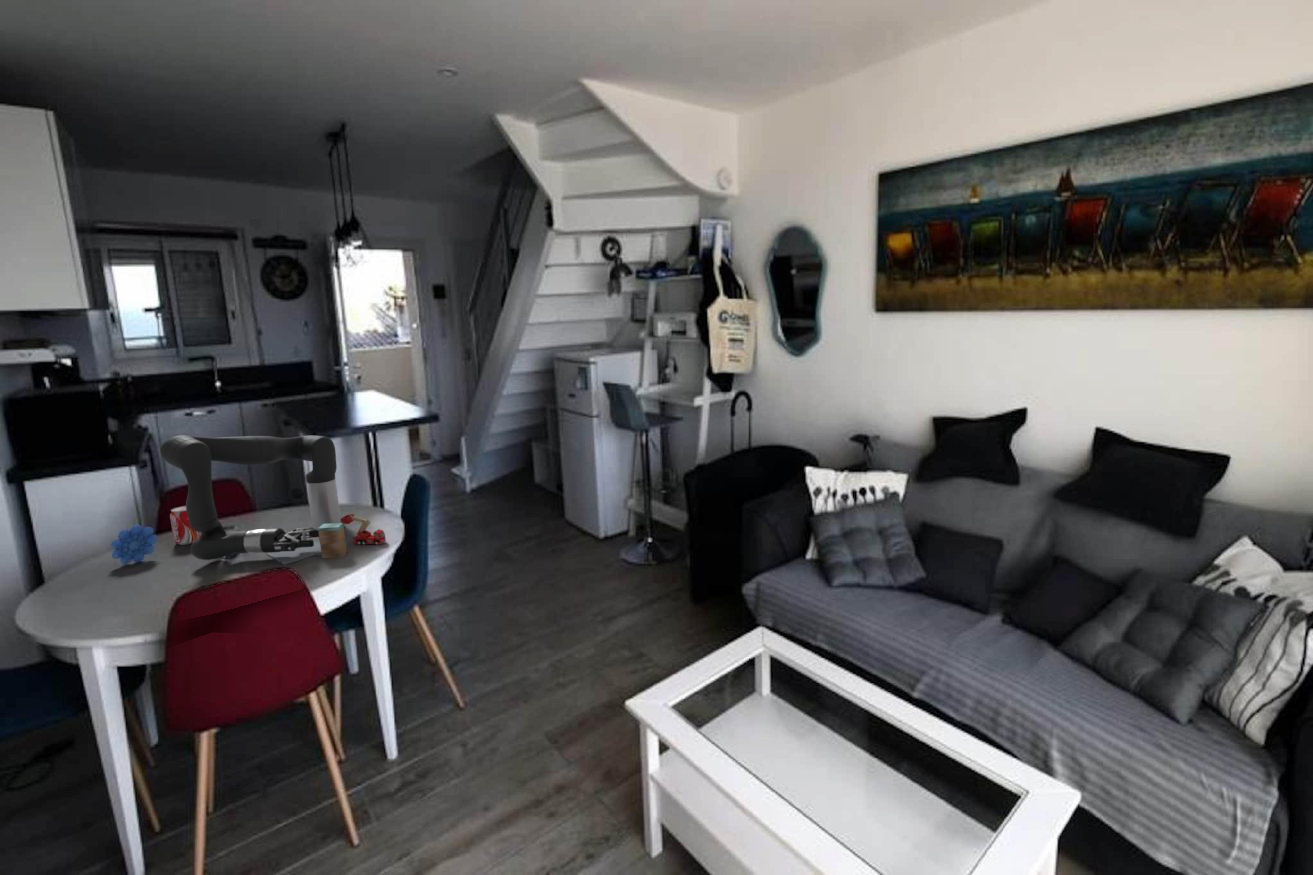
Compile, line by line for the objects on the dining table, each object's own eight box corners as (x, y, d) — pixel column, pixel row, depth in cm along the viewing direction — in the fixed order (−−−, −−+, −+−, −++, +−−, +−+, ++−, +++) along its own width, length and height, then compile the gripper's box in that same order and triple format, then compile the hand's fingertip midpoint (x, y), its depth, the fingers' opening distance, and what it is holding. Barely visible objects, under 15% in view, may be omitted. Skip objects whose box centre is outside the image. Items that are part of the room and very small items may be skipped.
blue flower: (160, 553, 203) (153, 518, 200) (162, 559, 198) (155, 523, 195) (113, 563, 195) (106, 527, 193) (114, 569, 190) (106, 532, 188)
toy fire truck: (382, 545, 206) (379, 517, 204) (343, 544, 208) (339, 517, 206) (387, 541, 209) (384, 514, 207) (349, 540, 211) (345, 513, 209)
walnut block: (322, 558, 196) (318, 528, 194) (327, 553, 200) (323, 523, 198) (342, 557, 197) (338, 527, 195) (346, 552, 201) (343, 522, 199)
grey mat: (266, 554, 200) (266, 552, 200) (311, 540, 211) (311, 539, 211) (284, 564, 192) (283, 563, 192) (330, 550, 203) (330, 549, 202)
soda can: (170, 544, 210) (163, 510, 208) (192, 537, 217) (186, 504, 214) (183, 547, 208) (177, 512, 205) (205, 539, 214) (199, 506, 212)
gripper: (251, 537, 188) (307, 534, 189) (274, 521, 202) (326, 519, 203) (254, 561, 189) (310, 557, 191) (277, 543, 203) (329, 540, 205)
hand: (319, 537), depth 197 cm, fingers open, 8 cm apart
